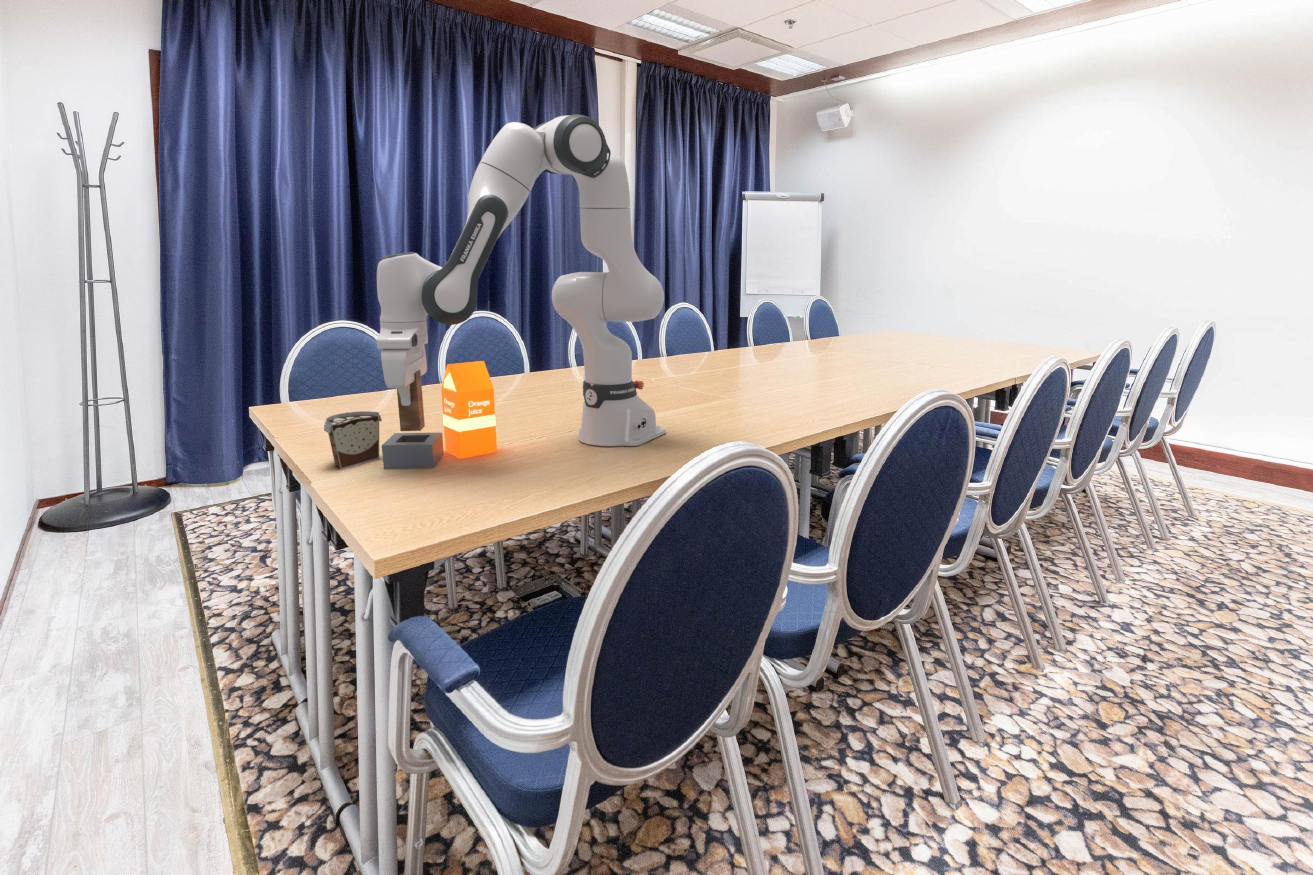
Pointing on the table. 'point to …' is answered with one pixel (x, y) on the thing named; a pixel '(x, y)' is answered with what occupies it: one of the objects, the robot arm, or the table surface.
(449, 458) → the table surface
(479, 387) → the orange juice
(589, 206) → the robot arm
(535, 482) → the table surface
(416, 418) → the peg
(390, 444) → the socket
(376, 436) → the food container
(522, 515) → the table surface
